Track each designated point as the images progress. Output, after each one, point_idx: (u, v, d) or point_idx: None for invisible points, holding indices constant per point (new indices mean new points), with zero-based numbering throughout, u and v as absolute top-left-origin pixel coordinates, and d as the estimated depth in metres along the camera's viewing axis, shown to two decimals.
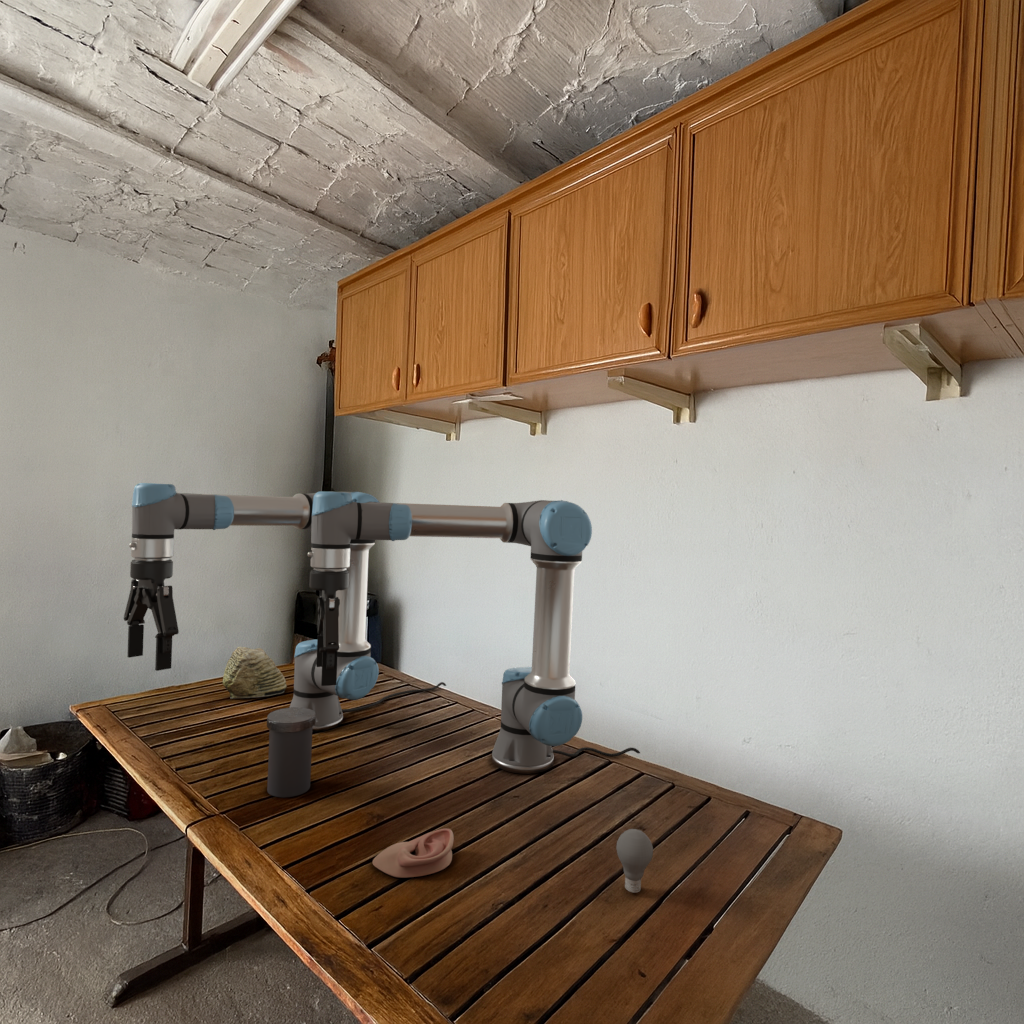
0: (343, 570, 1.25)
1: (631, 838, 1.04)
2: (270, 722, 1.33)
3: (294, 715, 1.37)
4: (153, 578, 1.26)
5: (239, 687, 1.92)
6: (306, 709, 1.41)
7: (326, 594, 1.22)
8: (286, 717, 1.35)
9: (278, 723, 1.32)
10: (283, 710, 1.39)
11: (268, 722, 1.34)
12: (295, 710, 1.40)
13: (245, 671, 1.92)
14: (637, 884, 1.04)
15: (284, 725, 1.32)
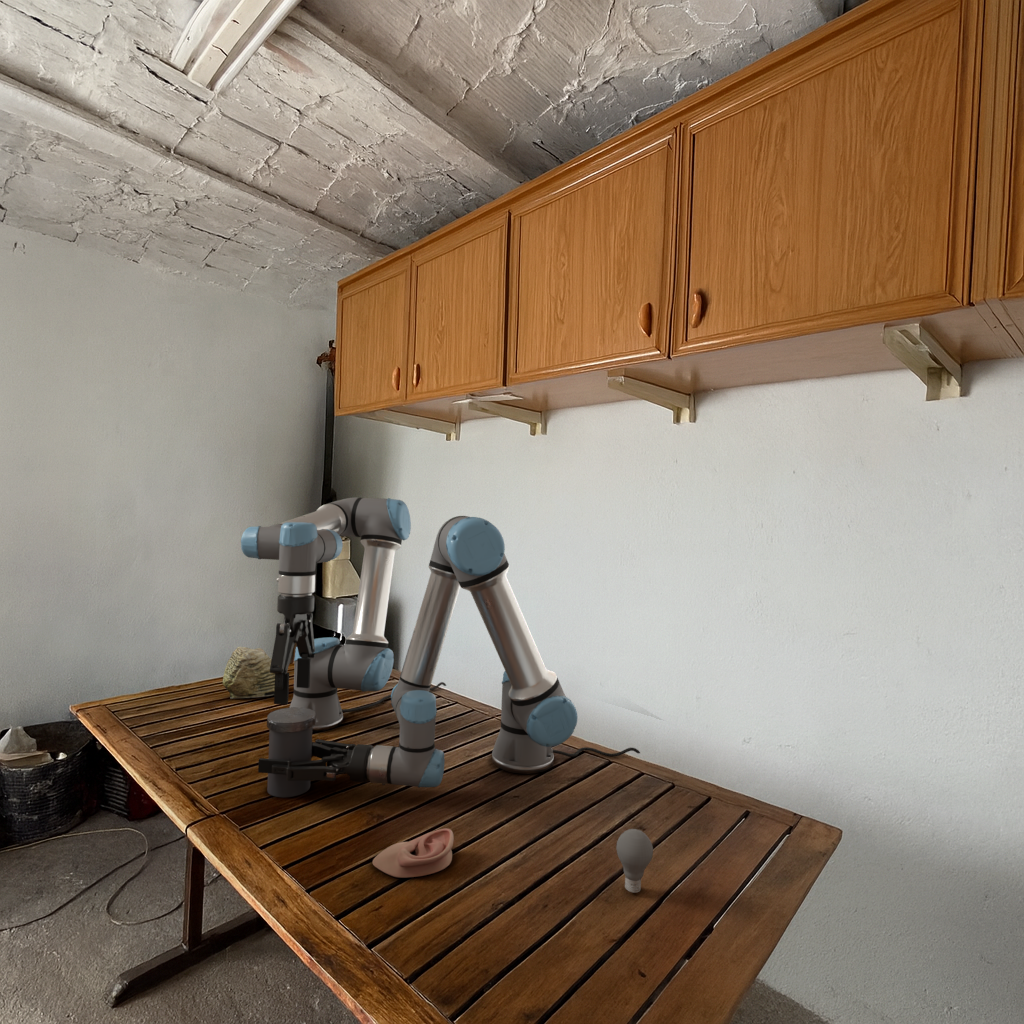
0: None
1: (631, 838, 1.04)
2: (270, 722, 1.33)
3: (294, 715, 1.37)
4: (283, 613, 1.33)
5: (239, 687, 1.92)
6: (306, 709, 1.41)
7: None
8: (286, 717, 1.35)
9: (278, 723, 1.32)
10: (283, 710, 1.39)
11: (268, 722, 1.34)
12: (295, 710, 1.40)
13: (245, 671, 1.92)
14: (637, 884, 1.04)
15: (284, 725, 1.32)
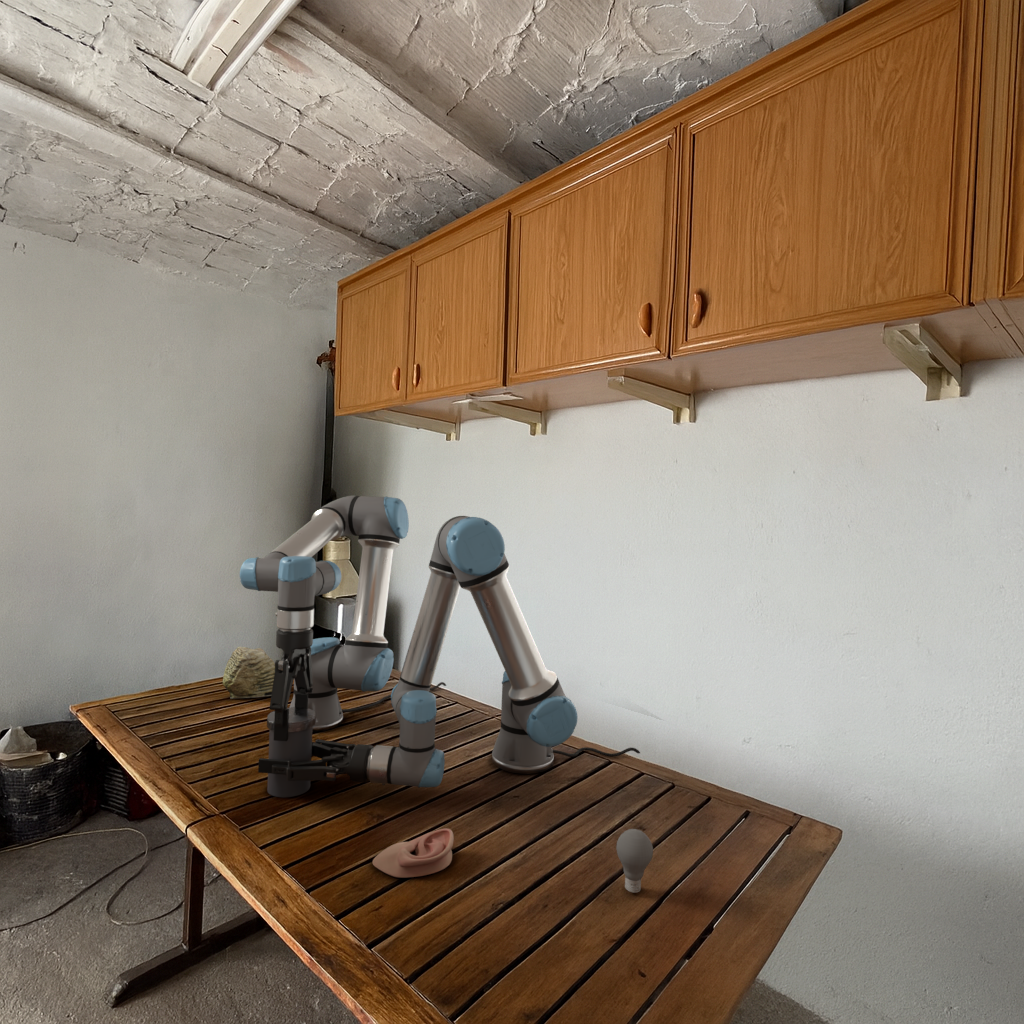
0: None
1: (631, 838, 1.04)
2: (270, 722, 1.33)
3: (294, 715, 1.37)
4: (282, 648, 1.33)
5: (239, 687, 1.92)
6: (306, 709, 1.41)
7: None
8: None
9: None
10: None
11: (268, 722, 1.34)
12: (295, 710, 1.40)
13: (245, 671, 1.92)
14: (637, 884, 1.04)
15: None
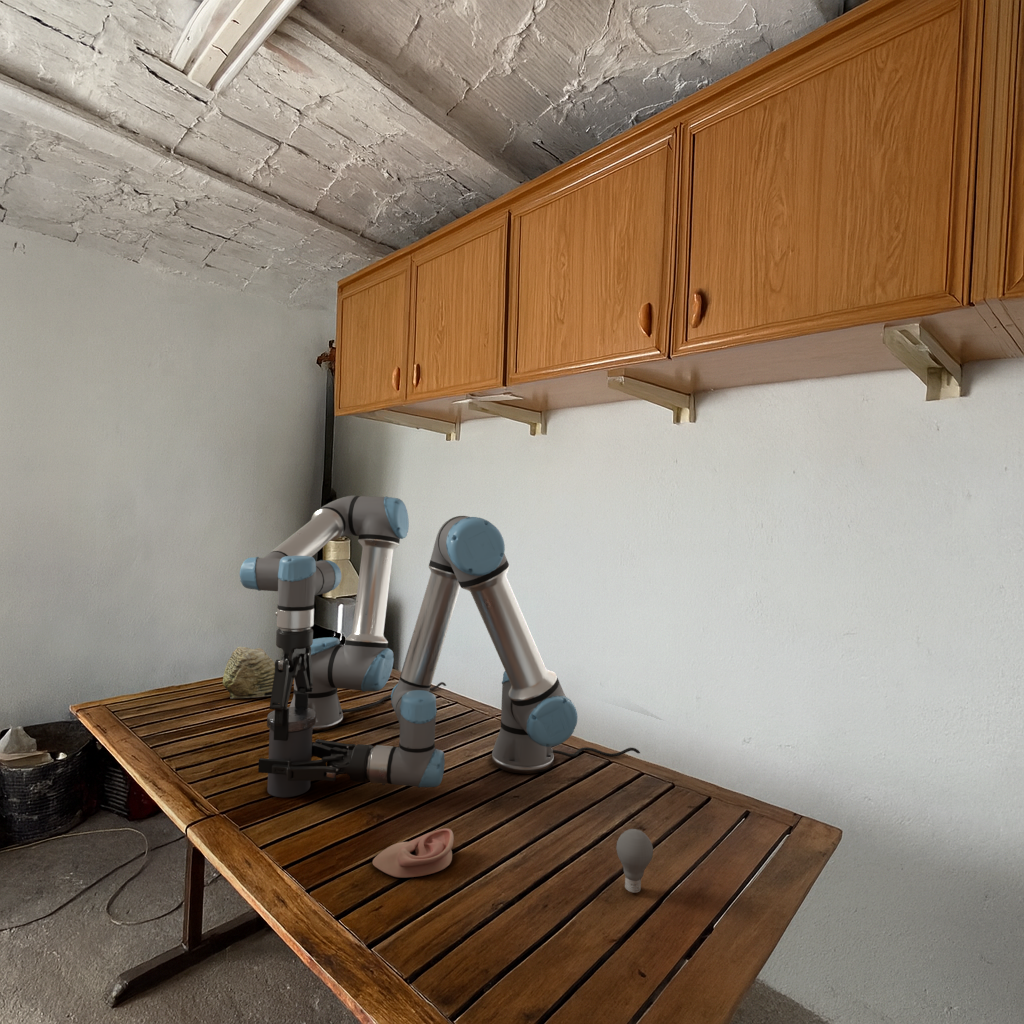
0: None
1: (631, 838, 1.04)
2: (292, 724, 1.32)
3: (295, 713, 1.37)
4: (282, 647, 1.33)
5: (239, 687, 1.92)
6: None
7: None
8: (295, 716, 1.36)
9: (302, 721, 1.33)
10: (274, 715, 1.36)
11: None
12: None
13: (245, 671, 1.92)
14: (637, 884, 1.04)
15: (308, 721, 1.35)
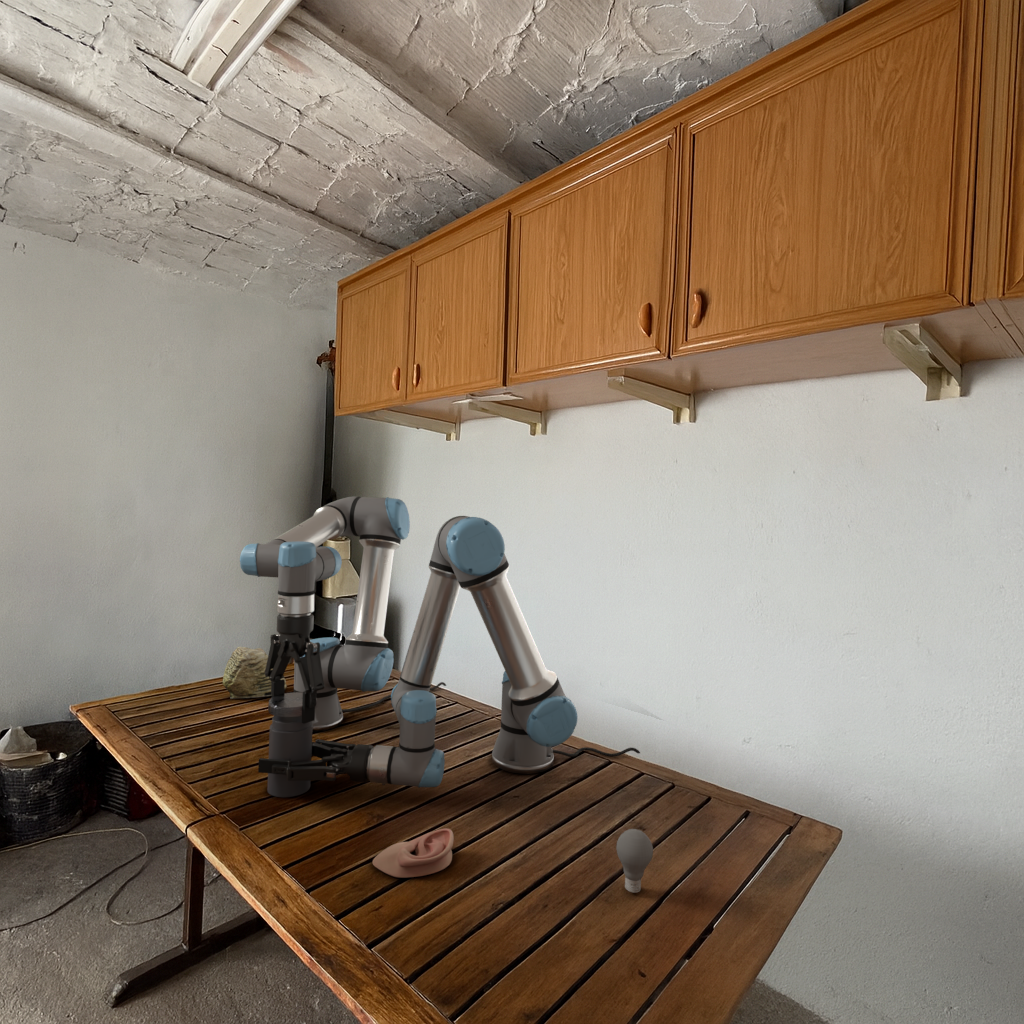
0: None
1: (631, 838, 1.04)
2: None
3: (294, 698, 1.38)
4: (301, 633, 1.34)
5: (239, 687, 1.92)
6: (273, 698, 1.37)
7: None
8: (301, 699, 1.37)
9: (316, 699, 1.38)
10: (283, 704, 1.34)
11: None
12: (279, 701, 1.36)
13: (245, 671, 1.92)
14: (637, 884, 1.04)
15: None
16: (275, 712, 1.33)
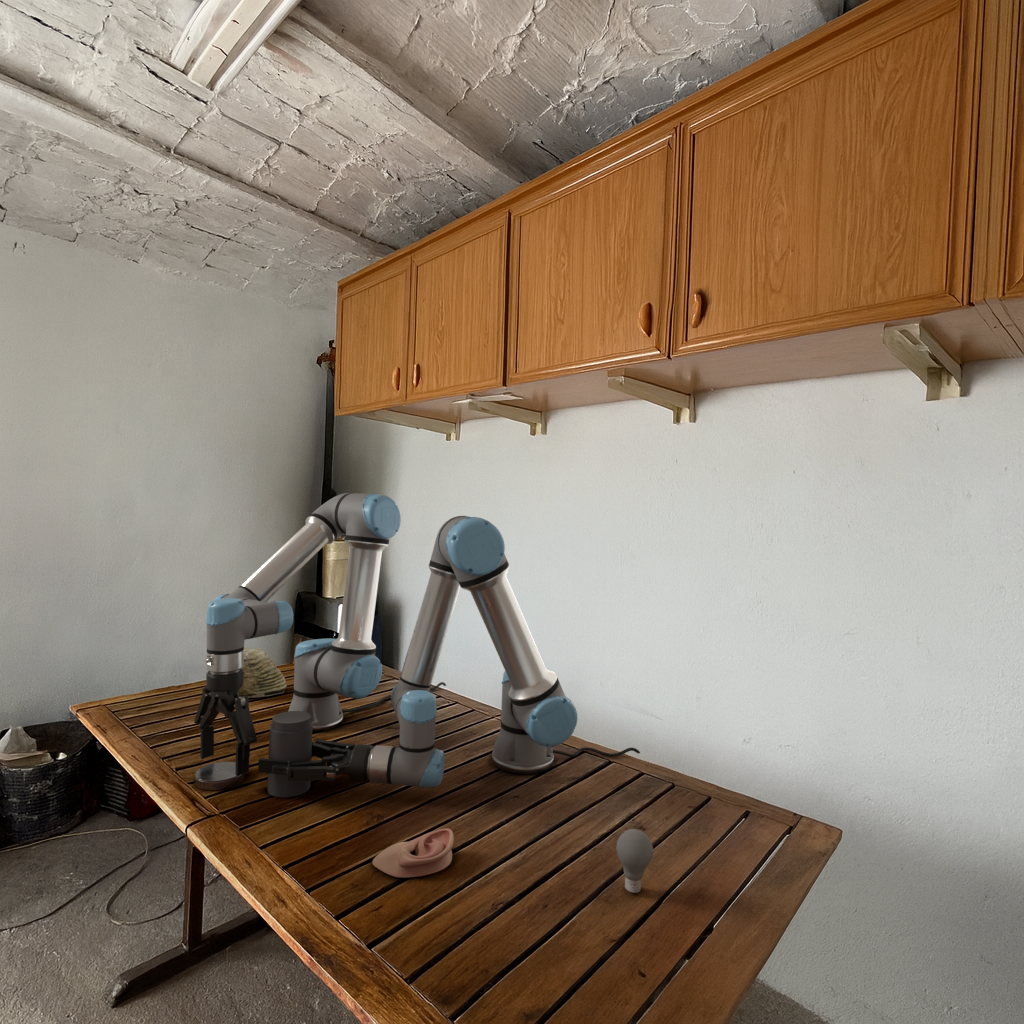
0: None
1: (631, 838, 1.04)
2: (240, 775, 1.38)
3: (221, 769, 1.40)
4: (229, 690, 1.36)
5: None
6: (201, 770, 1.39)
7: None
8: (229, 770, 1.40)
9: None
10: (208, 777, 1.36)
11: (236, 779, 1.37)
12: (206, 773, 1.38)
13: (245, 671, 1.92)
14: (637, 884, 1.04)
15: None
16: (200, 785, 1.35)
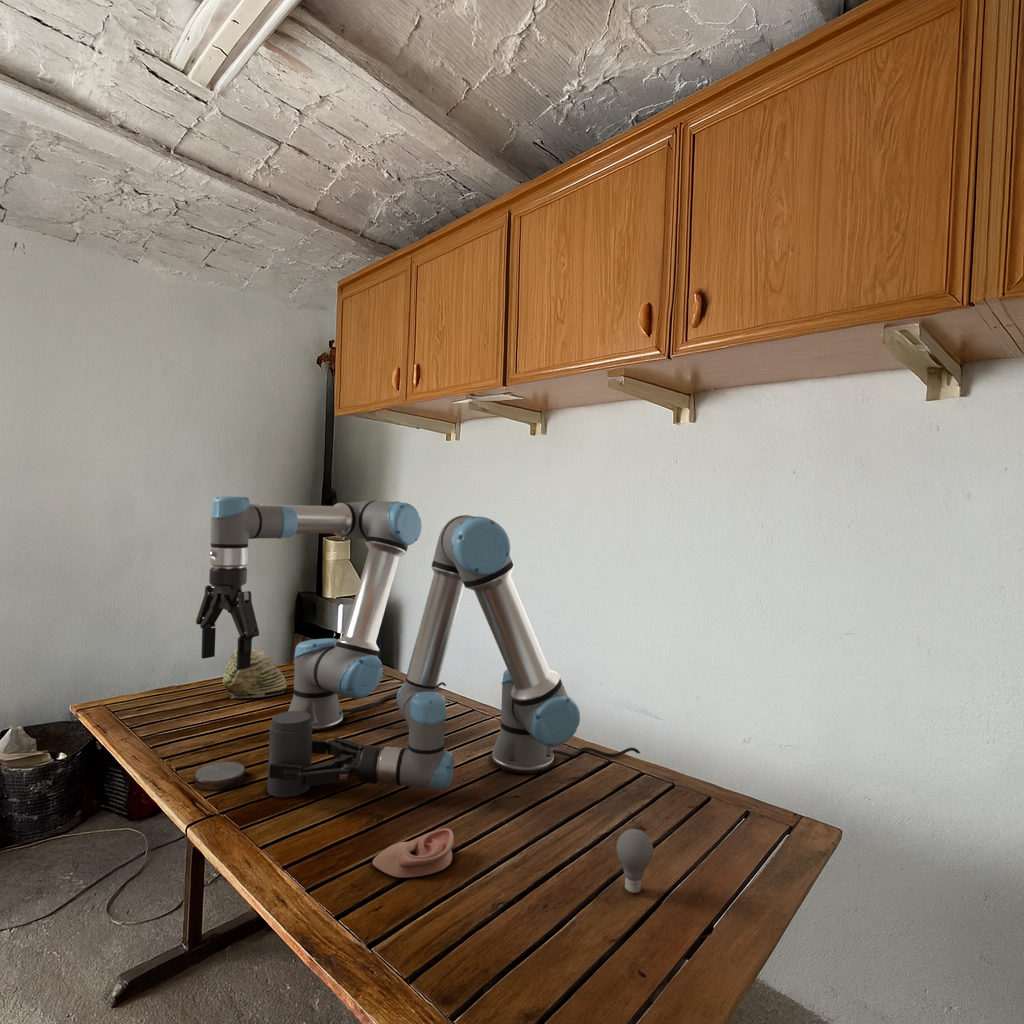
0: None
1: (631, 838, 1.04)
2: (240, 775, 1.38)
3: (221, 769, 1.40)
4: (233, 584, 1.36)
5: (239, 687, 1.92)
6: (201, 770, 1.39)
7: None
8: (229, 770, 1.40)
9: (244, 770, 1.41)
10: (208, 777, 1.36)
11: (236, 779, 1.37)
12: (206, 773, 1.38)
13: (245, 671, 1.92)
14: (637, 884, 1.04)
15: (244, 769, 1.42)
16: (200, 785, 1.35)
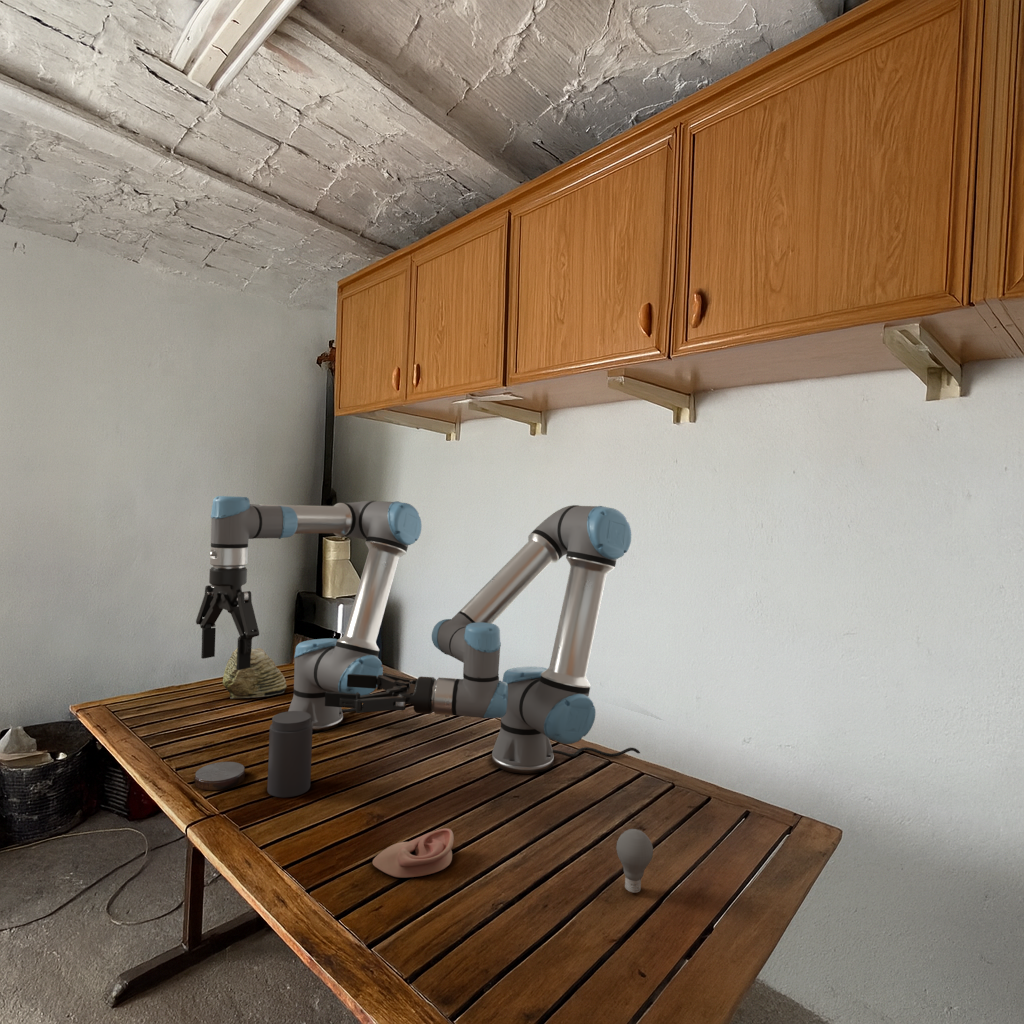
0: None
1: (631, 838, 1.04)
2: (240, 775, 1.38)
3: (221, 769, 1.40)
4: (233, 584, 1.36)
5: (239, 687, 1.92)
6: (201, 770, 1.39)
7: None
8: (229, 770, 1.40)
9: (244, 770, 1.41)
10: (208, 777, 1.36)
11: (236, 779, 1.37)
12: (206, 773, 1.38)
13: (245, 671, 1.92)
14: (637, 884, 1.04)
15: (244, 769, 1.42)
16: (200, 785, 1.35)
